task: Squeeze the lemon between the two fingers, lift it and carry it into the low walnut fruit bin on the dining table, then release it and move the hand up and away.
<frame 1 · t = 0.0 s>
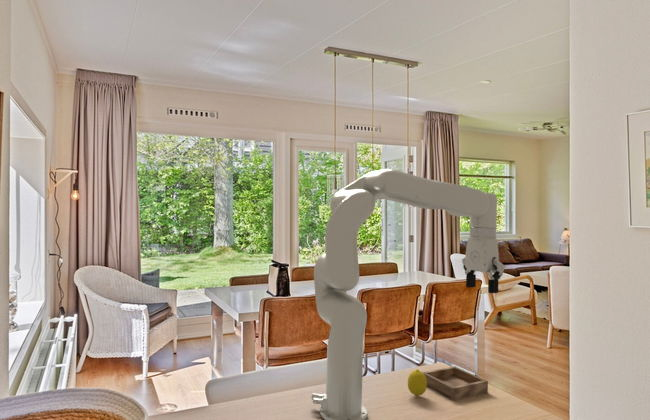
hand: (481, 290, 135), 31 cm above the table, tool pointing down, fingers open, 9 cm apart
fruit bin: (453, 387, 138), on the table
lemon: (416, 397, 131), on the table
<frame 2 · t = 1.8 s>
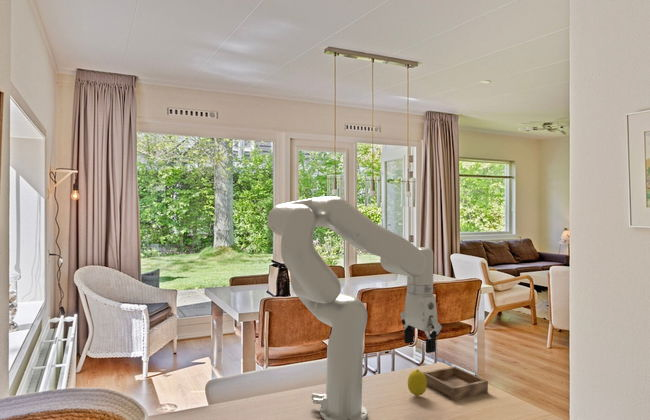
hand: (419, 347, 132), 14 cm above the table, tool pointing down, fingers open, 9 cm apart
nothing on the table moved.
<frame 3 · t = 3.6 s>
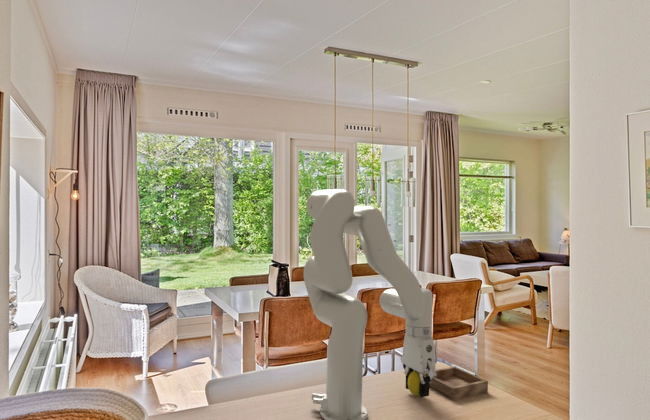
hand: (417, 391, 131), 2 cm above the table, tool pointing down, fingers closed on lemon, 5 cm apart
lemon: (416, 397, 131), on the table, touching gripper
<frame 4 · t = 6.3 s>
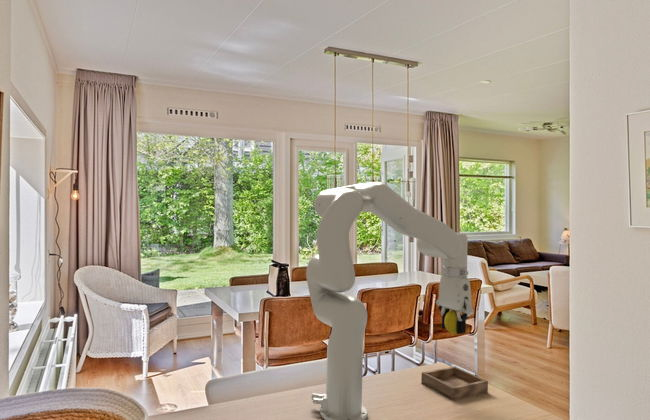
hand: (453, 330, 138), 18 cm above the table, tool pointing down, fingers closed on lemon, 5 cm apart
lemon: (453, 335, 138), point 16 cm above the table, touching gripper
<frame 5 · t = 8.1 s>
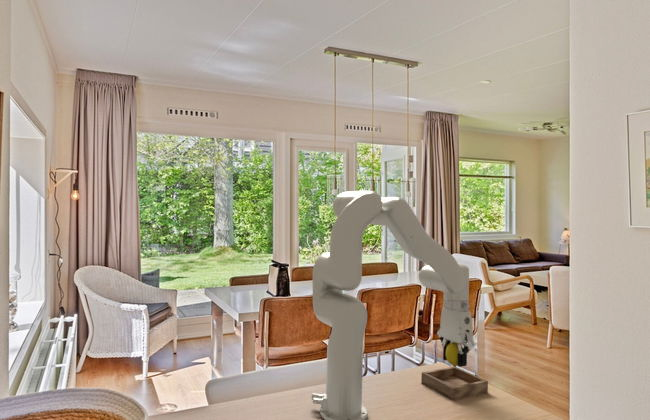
hand: (454, 362, 139), 8 cm above the table, tool pointing down, fingers closed on lemon, 5 cm apart
lemon: (454, 367, 139), point 6 cm above the table, touching gripper
when the fingers open (5 cm above the table, at t = 9.2 s): lemon drops 3 cm, resting on fruit bin.
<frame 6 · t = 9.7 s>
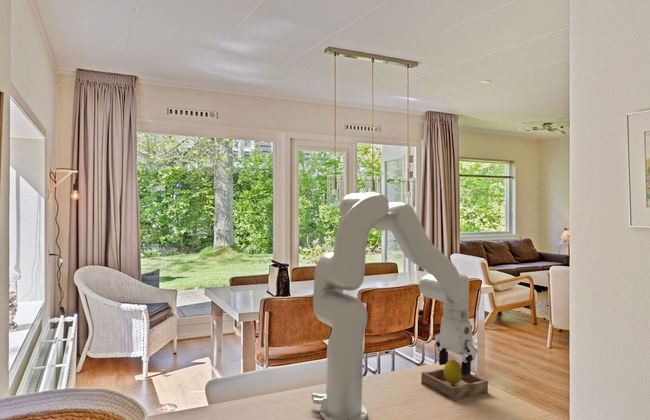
hand: (454, 369, 139), 6 cm above the table, tool pointing down, fingers open, 9 cm apart
lemon: (452, 385, 139), point 1 cm above the table, touching fruit bin
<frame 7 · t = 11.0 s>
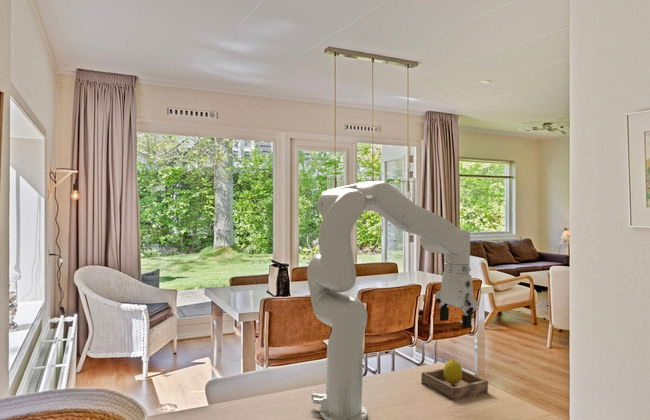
hand: (454, 324, 138), 20 cm above the table, tool pointing down, fingers open, 9 cm apart
nothing on the table moved.
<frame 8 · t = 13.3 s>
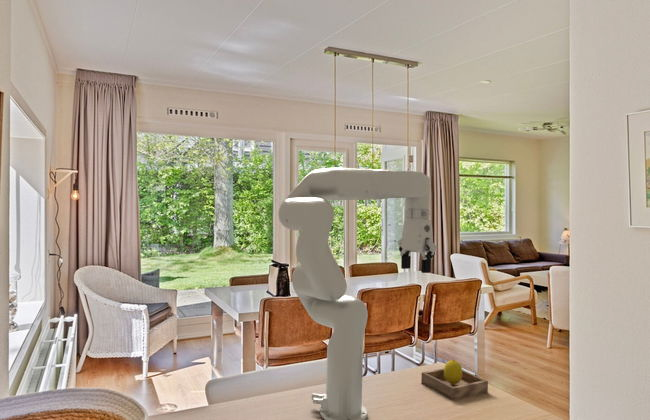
hand: (415, 270, 138), 36 cm above the table, tool pointing down, fingers open, 9 cm apart
nothing on the table moved.
at the end: lemon inside the target area on the fruit bin (0.3 cm from its centre), point 0.6 cm above the fruit bin's base; the gripper is holding nothing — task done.
